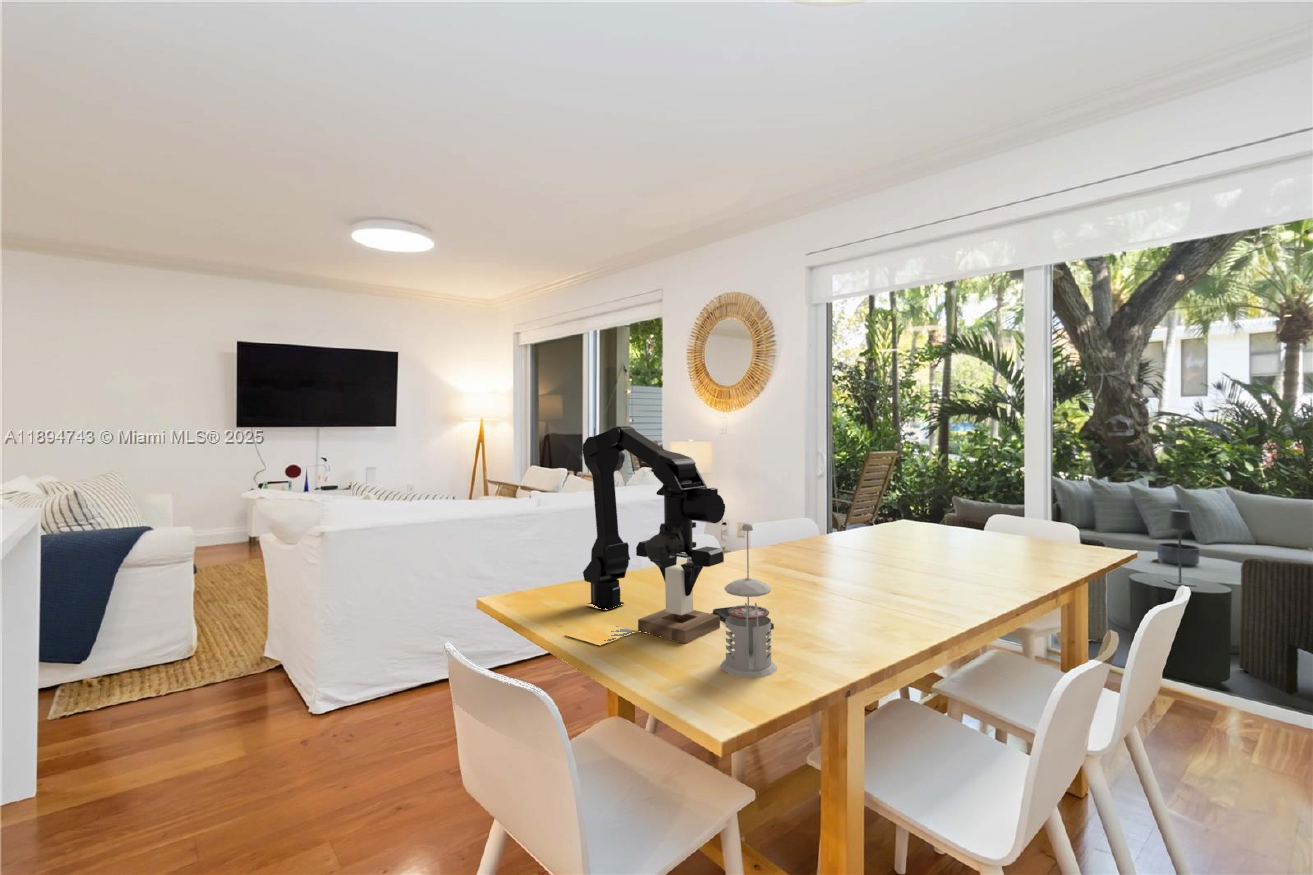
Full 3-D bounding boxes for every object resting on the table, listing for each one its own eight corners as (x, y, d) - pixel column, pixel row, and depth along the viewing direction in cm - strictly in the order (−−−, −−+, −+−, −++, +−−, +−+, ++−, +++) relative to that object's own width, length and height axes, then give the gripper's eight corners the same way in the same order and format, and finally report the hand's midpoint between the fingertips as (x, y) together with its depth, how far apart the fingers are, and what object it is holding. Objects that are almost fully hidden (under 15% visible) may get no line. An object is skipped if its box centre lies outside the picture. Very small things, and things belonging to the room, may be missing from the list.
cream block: (665, 611, 130) (665, 568, 130) (677, 607, 133) (677, 564, 133) (681, 615, 127) (680, 570, 127) (693, 610, 130) (692, 567, 130)
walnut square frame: (638, 631, 129) (638, 619, 129) (674, 617, 139) (673, 605, 139) (685, 643, 122) (685, 630, 122) (719, 627, 131) (719, 615, 131)
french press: (773, 656, 115) (771, 519, 114) (783, 682, 103) (782, 529, 103) (718, 656, 115) (717, 519, 115) (723, 682, 104) (721, 530, 103)
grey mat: (564, 636, 127) (564, 634, 127) (599, 623, 135) (599, 621, 135) (600, 646, 121) (600, 644, 121) (635, 632, 129) (635, 630, 129)
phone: (742, 605, 144) (775, 625, 130) (742, 610, 144) (775, 630, 130) (710, 609, 142) (741, 629, 127) (710, 614, 142) (741, 635, 127)
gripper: (618, 519, 129) (619, 595, 130) (692, 528, 118) (693, 611, 118) (652, 512, 138) (653, 584, 138) (724, 520, 126) (725, 598, 127)
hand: (679, 593), depth 130 cm, fingers closed on cream block, 4 cm apart
